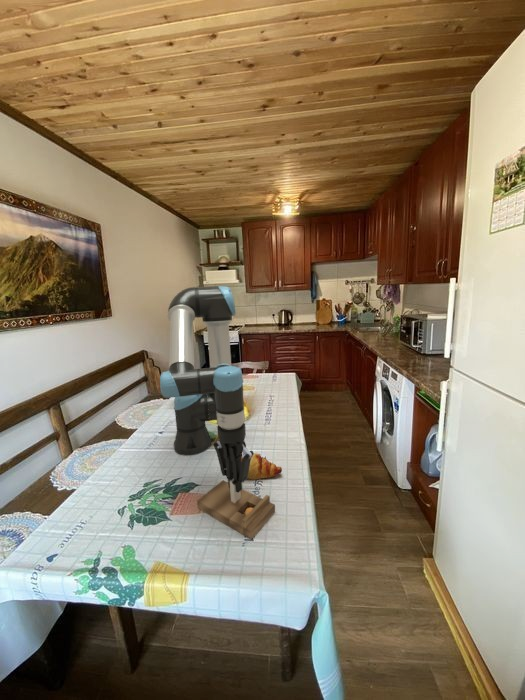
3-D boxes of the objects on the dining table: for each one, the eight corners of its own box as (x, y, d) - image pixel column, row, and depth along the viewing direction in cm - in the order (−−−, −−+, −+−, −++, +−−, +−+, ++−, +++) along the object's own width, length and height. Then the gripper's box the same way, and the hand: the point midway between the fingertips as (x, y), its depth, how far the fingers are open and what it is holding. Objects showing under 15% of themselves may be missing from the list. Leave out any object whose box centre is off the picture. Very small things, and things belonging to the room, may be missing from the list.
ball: (241, 510, 78) (250, 514, 76) (248, 503, 81) (257, 507, 79) (242, 521, 78) (252, 525, 77) (249, 513, 81) (258, 517, 79)
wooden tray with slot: (197, 508, 84) (196, 494, 83) (223, 487, 93) (222, 474, 92) (251, 539, 72) (250, 524, 71) (275, 512, 81) (274, 498, 80)
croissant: (222, 481, 101) (216, 470, 96) (230, 456, 108) (225, 444, 103) (281, 489, 95) (277, 477, 90) (285, 461, 103) (282, 448, 98)
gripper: (204, 423, 78) (210, 498, 83) (241, 435, 70) (245, 517, 75) (222, 413, 84) (227, 484, 89) (258, 423, 76) (261, 500, 81)
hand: (236, 499), depth 82 cm, fingers closed
